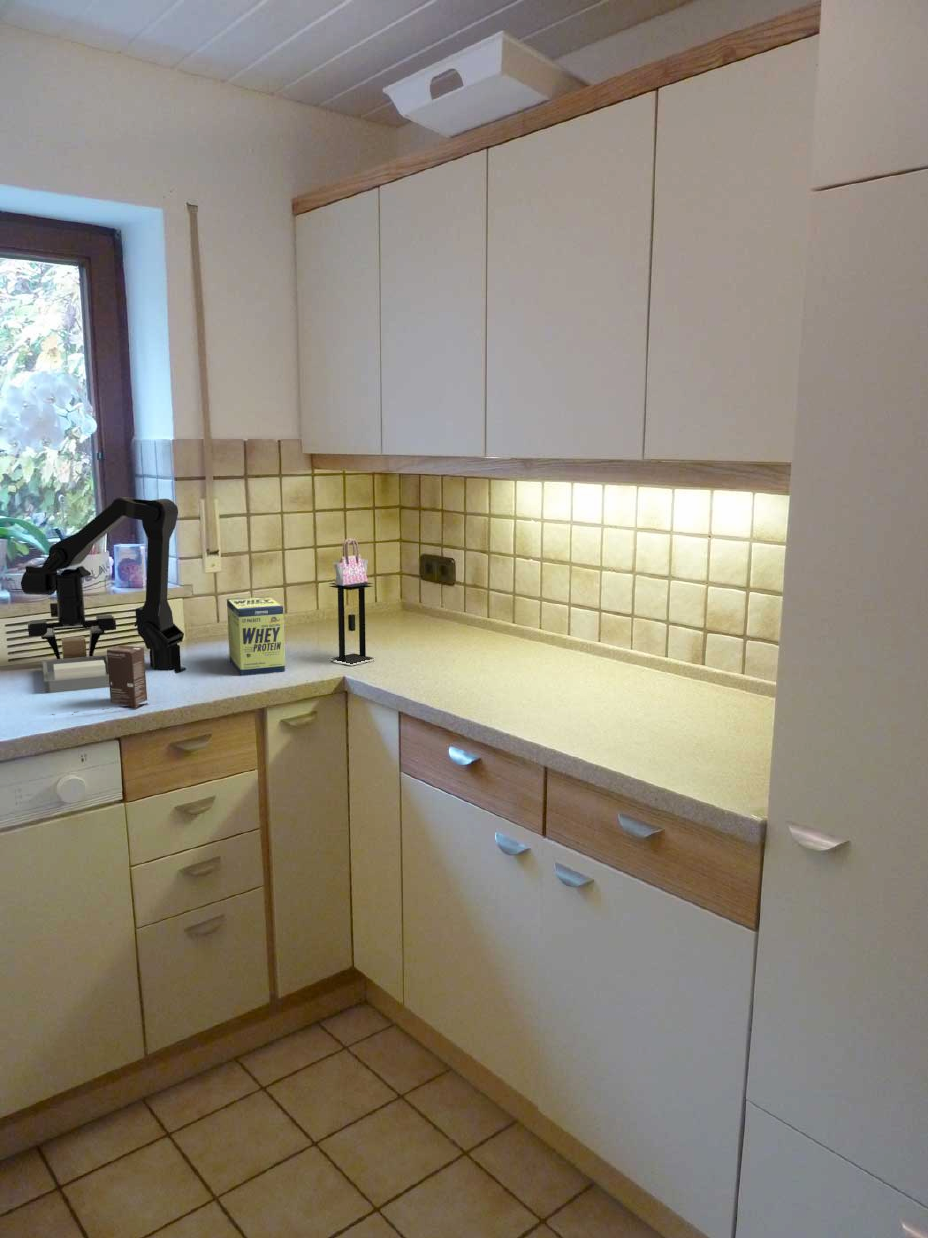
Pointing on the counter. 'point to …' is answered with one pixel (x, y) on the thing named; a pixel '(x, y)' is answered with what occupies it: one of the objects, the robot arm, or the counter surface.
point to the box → (127, 676)
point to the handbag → (351, 578)
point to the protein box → (256, 635)
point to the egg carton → (79, 669)
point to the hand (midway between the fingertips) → (75, 661)
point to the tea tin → (74, 647)
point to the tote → (73, 683)
